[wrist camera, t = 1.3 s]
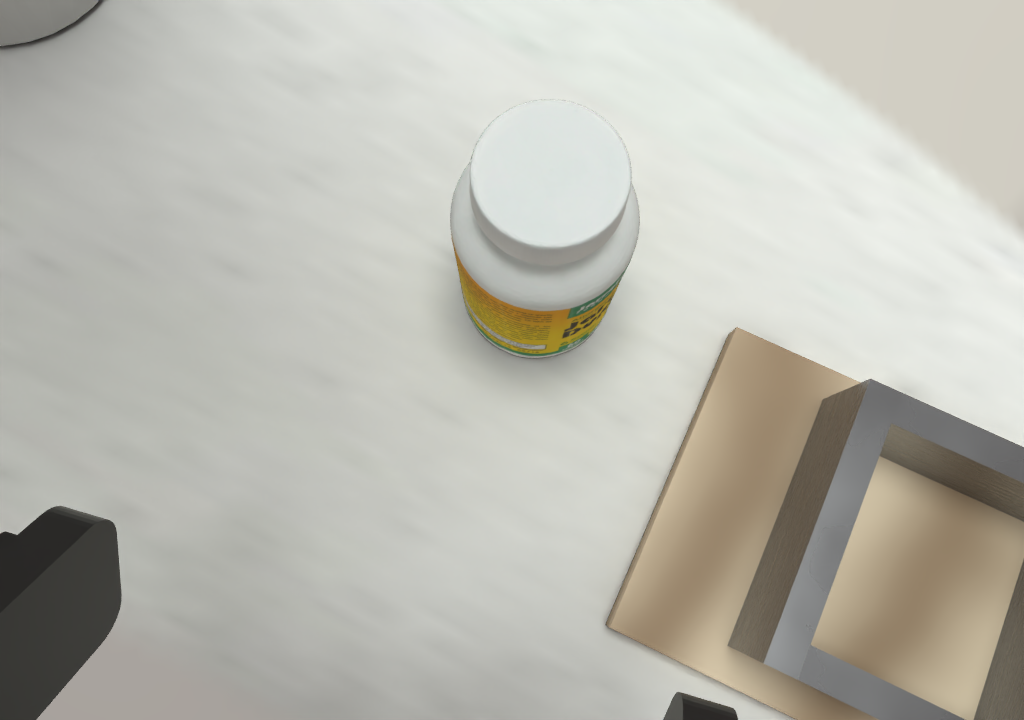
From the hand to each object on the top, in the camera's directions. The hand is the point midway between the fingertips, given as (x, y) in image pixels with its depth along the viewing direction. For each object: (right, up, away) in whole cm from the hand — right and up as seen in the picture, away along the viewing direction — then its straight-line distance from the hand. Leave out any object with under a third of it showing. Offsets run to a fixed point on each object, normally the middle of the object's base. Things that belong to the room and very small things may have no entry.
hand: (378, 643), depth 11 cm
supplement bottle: (+3, +6, +18) cm, 19 cm away
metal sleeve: (+15, -3, +14) cm, 21 cm away
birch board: (+15, -3, +15) cm, 21 cm away
